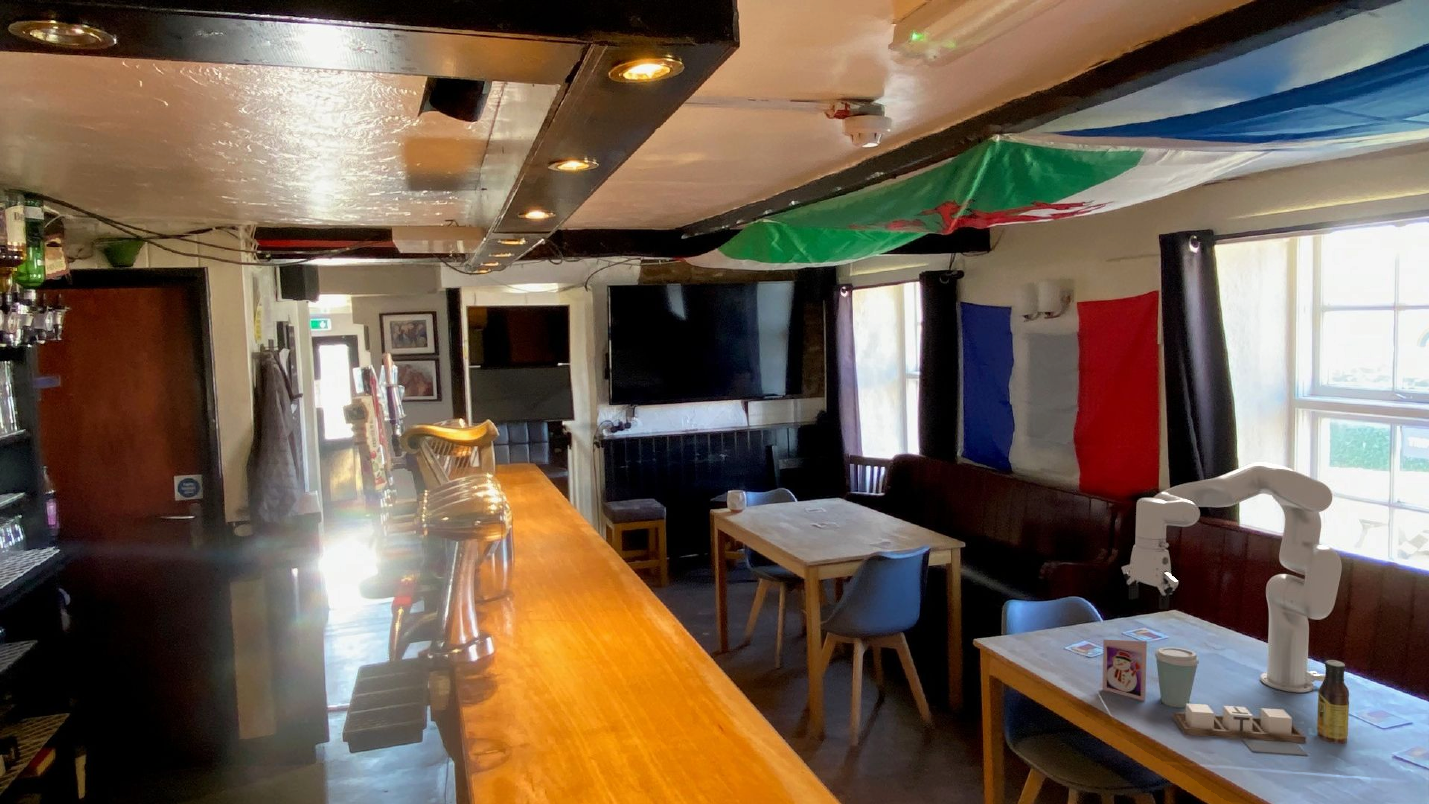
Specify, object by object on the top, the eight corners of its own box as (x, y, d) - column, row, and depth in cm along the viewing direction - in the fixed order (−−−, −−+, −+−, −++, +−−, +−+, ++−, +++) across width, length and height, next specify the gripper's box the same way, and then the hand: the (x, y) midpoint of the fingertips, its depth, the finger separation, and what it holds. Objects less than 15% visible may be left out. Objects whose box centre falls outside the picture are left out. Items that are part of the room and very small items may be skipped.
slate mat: (1296, 746, 211) (1296, 743, 211) (1307, 758, 205) (1307, 754, 205) (1242, 742, 213) (1242, 739, 213) (1252, 754, 207) (1252, 750, 207)
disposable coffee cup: (1144, 699, 239) (1145, 646, 237) (1173, 693, 242) (1174, 641, 241) (1177, 715, 229) (1178, 660, 228) (1206, 708, 233) (1208, 654, 231)
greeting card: (1101, 691, 244) (1102, 640, 243) (1111, 684, 249) (1112, 633, 248) (1144, 703, 236) (1145, 650, 235) (1153, 695, 241) (1154, 643, 240)
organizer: (1288, 727, 221) (1288, 719, 221) (1305, 744, 212) (1306, 736, 211) (1172, 719, 226) (1173, 711, 226) (1185, 736, 217) (1185, 728, 217)
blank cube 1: (1206, 723, 223) (1207, 704, 222) (1213, 732, 218) (1214, 713, 217) (1185, 722, 224) (1185, 703, 223) (1192, 730, 219) (1192, 711, 218)
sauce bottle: (1317, 731, 218) (1320, 655, 217) (1348, 738, 214) (1351, 660, 213) (1315, 741, 213) (1318, 663, 212) (1346, 748, 209) (1349, 669, 208)
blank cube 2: (1282, 728, 219) (1282, 709, 219) (1291, 737, 214) (1291, 718, 214) (1260, 727, 220) (1261, 708, 220) (1268, 736, 215) (1269, 716, 215)
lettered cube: (1244, 726, 221) (1244, 706, 220) (1252, 735, 216) (1252, 715, 215) (1222, 724, 222) (1223, 705, 221) (1230, 733, 217) (1230, 714, 216)
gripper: (1188, 548, 232) (1185, 610, 234) (1133, 535, 248) (1131, 593, 249) (1168, 551, 229) (1166, 614, 231) (1114, 537, 245) (1112, 596, 246)
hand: (1148, 603), depth 240 cm, fingers open, 9 cm apart
